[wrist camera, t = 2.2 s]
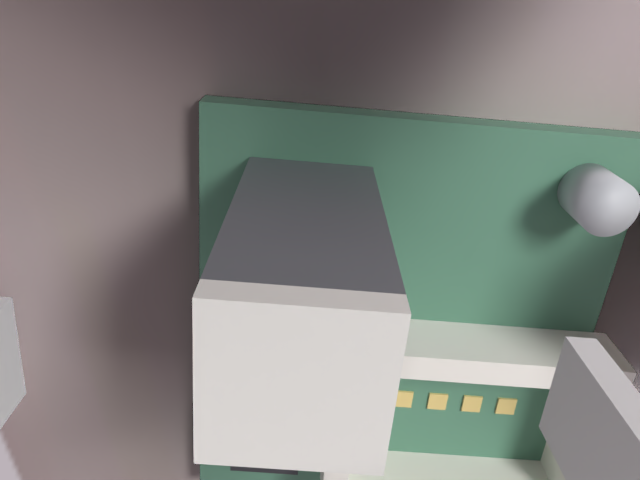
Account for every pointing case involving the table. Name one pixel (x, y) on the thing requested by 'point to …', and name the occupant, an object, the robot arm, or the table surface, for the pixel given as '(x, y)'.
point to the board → (452, 235)
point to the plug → (299, 324)
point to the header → (479, 368)
